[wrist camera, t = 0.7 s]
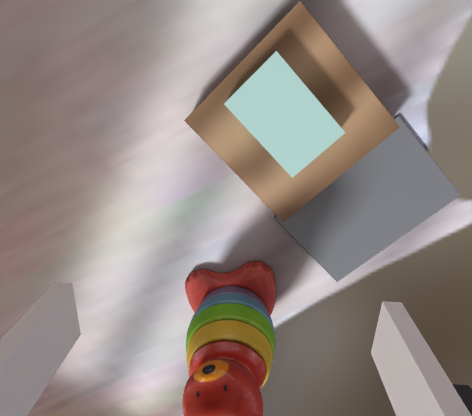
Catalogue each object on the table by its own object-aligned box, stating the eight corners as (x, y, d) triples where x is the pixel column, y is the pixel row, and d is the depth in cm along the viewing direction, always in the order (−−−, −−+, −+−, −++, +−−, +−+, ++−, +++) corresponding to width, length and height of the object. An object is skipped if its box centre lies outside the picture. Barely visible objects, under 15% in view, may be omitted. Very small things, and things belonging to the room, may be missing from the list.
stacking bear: (270, 257, 41) (277, 383, 24) (284, 326, 44) (299, 478, 28) (182, 271, 42) (132, 398, 26) (202, 337, 46) (169, 487, 29)
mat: (274, 216, 39) (274, 218, 39) (397, 115, 34) (398, 115, 34) (336, 280, 41) (337, 282, 41) (459, 193, 37) (460, 194, 37)
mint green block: (225, 102, 32) (223, 103, 30) (275, 52, 30) (276, 50, 28) (290, 172, 34) (292, 177, 32) (340, 129, 32) (345, 132, 30)
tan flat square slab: (190, 116, 36) (184, 120, 33) (296, 7, 32) (300, 0, 29) (281, 211, 39) (283, 222, 36) (388, 122, 35) (400, 127, 32)
